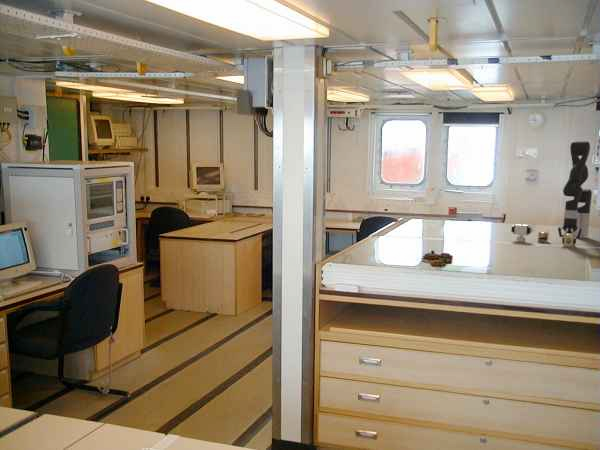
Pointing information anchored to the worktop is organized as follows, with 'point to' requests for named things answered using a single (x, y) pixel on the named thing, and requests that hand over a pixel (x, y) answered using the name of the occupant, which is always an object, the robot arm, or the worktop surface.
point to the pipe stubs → (544, 236)
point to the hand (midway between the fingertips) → (568, 244)
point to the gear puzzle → (437, 259)
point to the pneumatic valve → (521, 231)
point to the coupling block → (568, 240)
